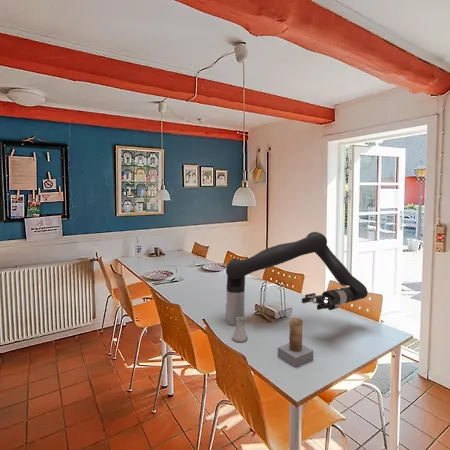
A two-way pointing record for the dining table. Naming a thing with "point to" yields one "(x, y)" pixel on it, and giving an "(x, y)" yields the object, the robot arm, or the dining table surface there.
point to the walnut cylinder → (295, 334)
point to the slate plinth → (295, 355)
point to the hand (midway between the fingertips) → (309, 304)
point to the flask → (239, 331)
